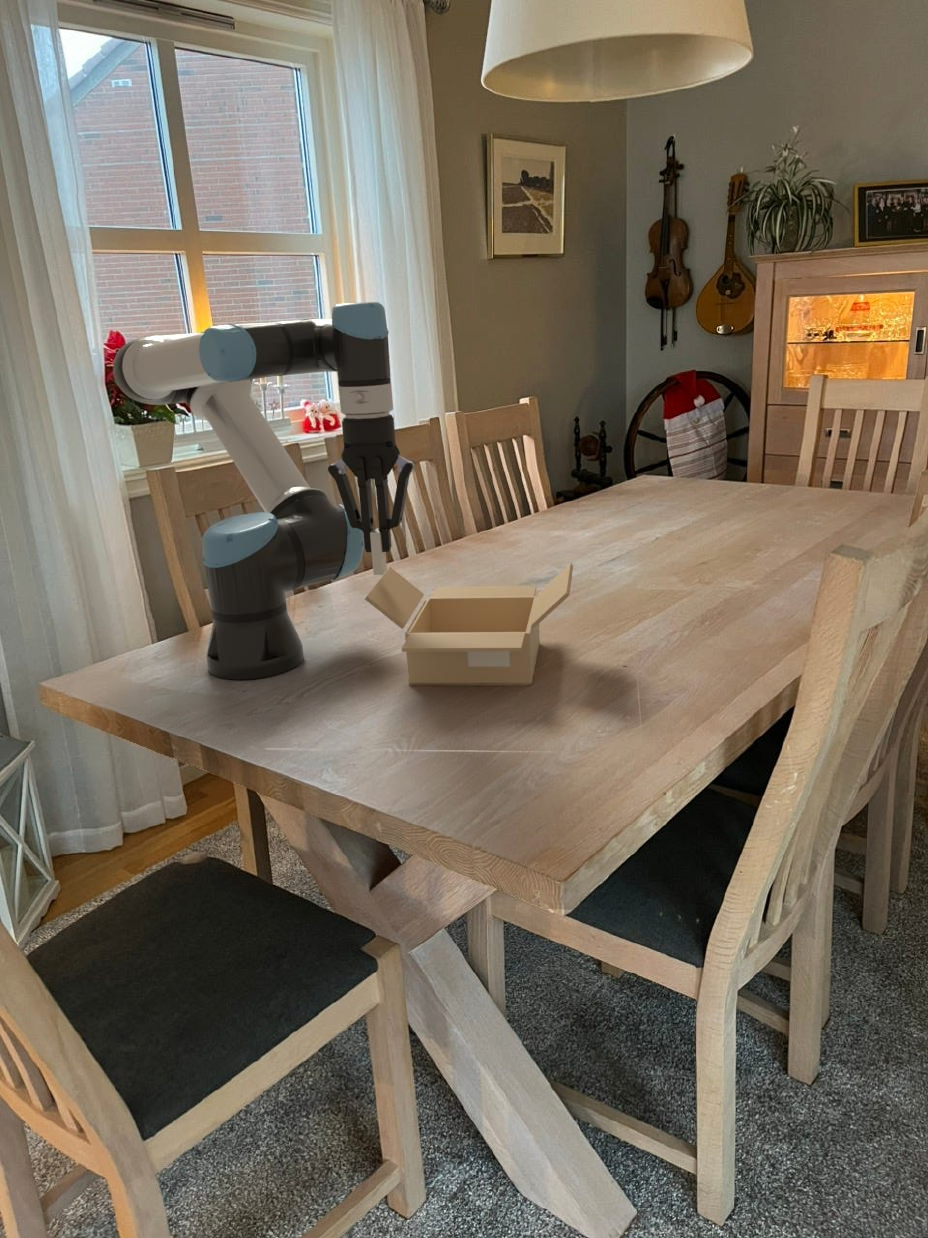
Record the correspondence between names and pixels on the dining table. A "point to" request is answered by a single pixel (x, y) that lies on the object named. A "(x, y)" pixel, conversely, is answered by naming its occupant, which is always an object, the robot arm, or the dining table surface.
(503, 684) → the carton
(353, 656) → the dining table surface
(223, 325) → the robot arm
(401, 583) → the flap
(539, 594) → the flap
